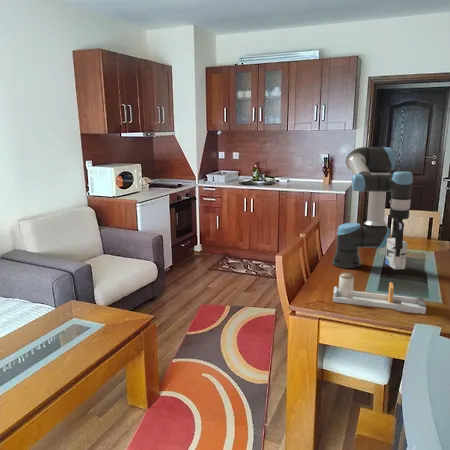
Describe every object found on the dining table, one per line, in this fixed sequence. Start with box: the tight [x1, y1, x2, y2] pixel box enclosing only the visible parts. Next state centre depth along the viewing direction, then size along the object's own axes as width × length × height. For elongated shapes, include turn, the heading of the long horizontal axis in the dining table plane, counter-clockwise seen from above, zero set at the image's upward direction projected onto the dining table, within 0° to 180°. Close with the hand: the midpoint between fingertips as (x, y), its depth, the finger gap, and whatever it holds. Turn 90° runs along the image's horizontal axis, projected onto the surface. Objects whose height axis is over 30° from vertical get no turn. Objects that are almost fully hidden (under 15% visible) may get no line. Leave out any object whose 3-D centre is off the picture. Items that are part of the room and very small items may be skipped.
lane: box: [332, 286, 427, 315], centre depth 168 cm, size 10×36×4 cm, turn 72°
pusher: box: [387, 281, 401, 304], centre depth 166 cm, size 7×5×8 cm
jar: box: [338, 272, 355, 299], centre depth 172 cm, size 6×6×11 cm
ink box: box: [384, 237, 408, 270], centre depth 170 cm, size 8×5×12 cm, turn 6°
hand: (395, 260), depth 171 cm, fingers closed on ink box, 9 cm apart
